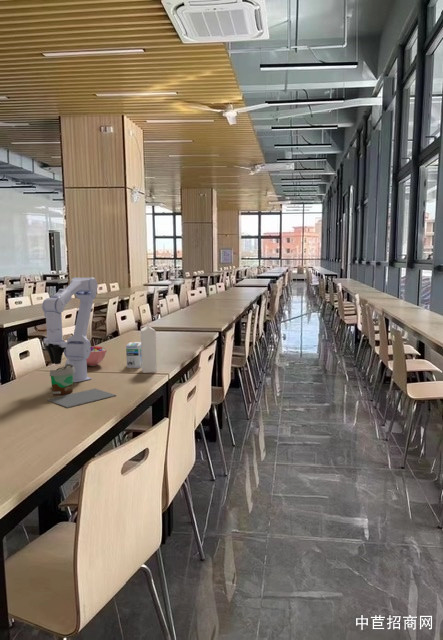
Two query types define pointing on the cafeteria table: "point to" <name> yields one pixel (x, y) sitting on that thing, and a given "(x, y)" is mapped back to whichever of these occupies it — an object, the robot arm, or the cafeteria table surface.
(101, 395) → the mat
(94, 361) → the cell model
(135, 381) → the cafeteria table surface
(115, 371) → the cafeteria table surface
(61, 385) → the food container
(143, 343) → the milk
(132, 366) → the light bulb box
